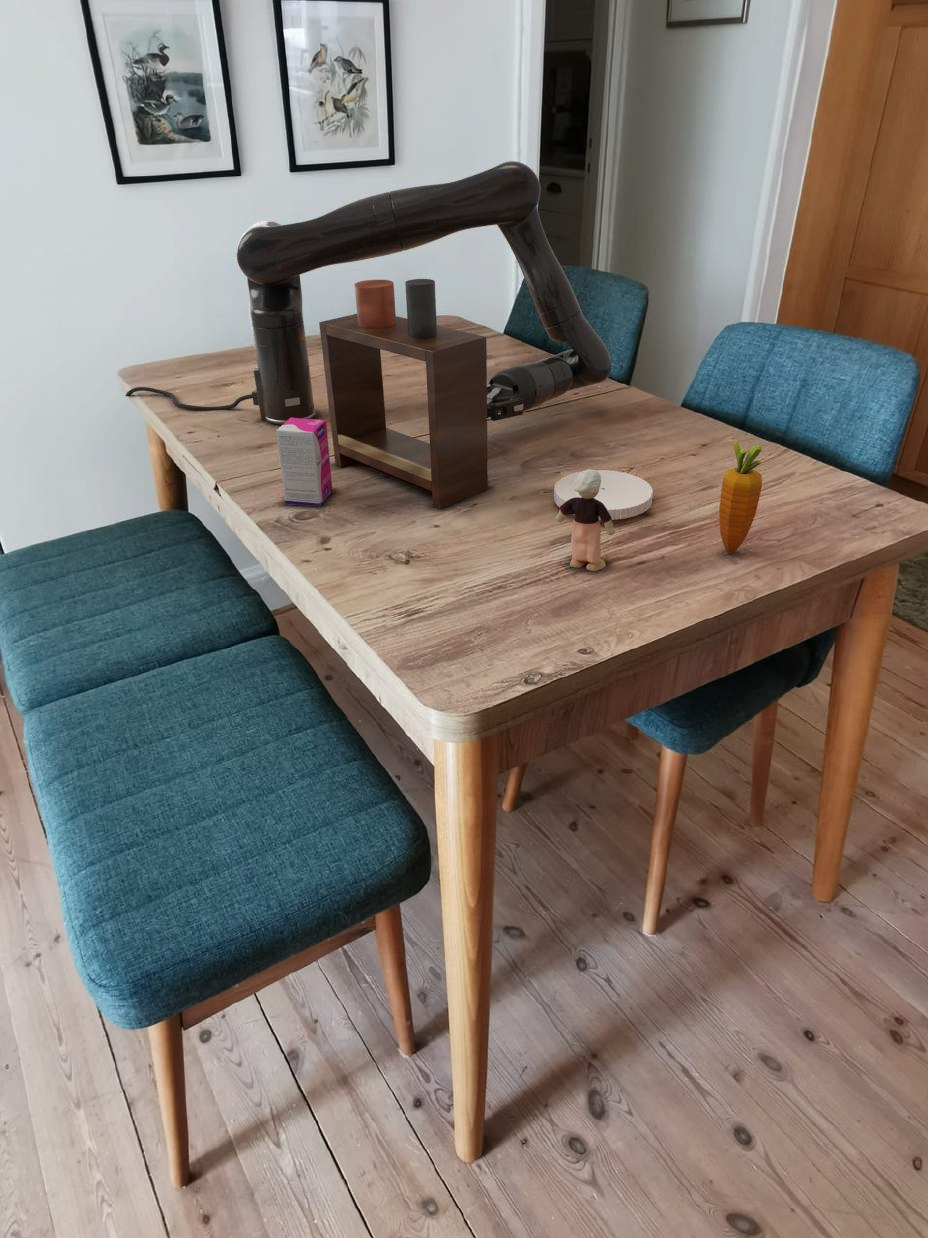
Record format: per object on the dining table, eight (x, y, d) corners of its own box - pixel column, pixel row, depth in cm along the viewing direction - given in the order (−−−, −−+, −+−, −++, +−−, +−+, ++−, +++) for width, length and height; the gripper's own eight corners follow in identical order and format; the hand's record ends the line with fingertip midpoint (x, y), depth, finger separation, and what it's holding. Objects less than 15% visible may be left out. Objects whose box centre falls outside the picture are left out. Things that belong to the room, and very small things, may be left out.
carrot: (705, 545, 109) (721, 436, 101) (741, 543, 110) (761, 434, 102) (717, 563, 105) (736, 451, 97) (756, 561, 105) (777, 448, 97)
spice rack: (335, 464, 136) (313, 271, 120) (382, 448, 142) (367, 261, 126) (440, 509, 121) (430, 295, 105) (488, 488, 126) (486, 282, 110)
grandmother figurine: (615, 560, 106) (623, 467, 100) (610, 574, 103) (617, 480, 97) (557, 552, 109) (560, 461, 102) (550, 566, 106) (553, 473, 99)
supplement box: (322, 507, 122) (312, 432, 116) (284, 504, 123) (272, 430, 117) (334, 491, 127) (326, 418, 121) (298, 488, 128) (288, 416, 122)
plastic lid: (551, 485, 127) (551, 470, 125) (643, 485, 126) (644, 469, 125) (556, 527, 115) (557, 510, 114) (658, 526, 114) (660, 509, 113)
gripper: (491, 358, 145) (418, 381, 135) (554, 373, 136) (481, 399, 126) (492, 400, 149) (421, 425, 139) (553, 418, 140) (482, 446, 130)
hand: (450, 413), depth 132 cm, fingers closed on shaker, 4 cm apart
